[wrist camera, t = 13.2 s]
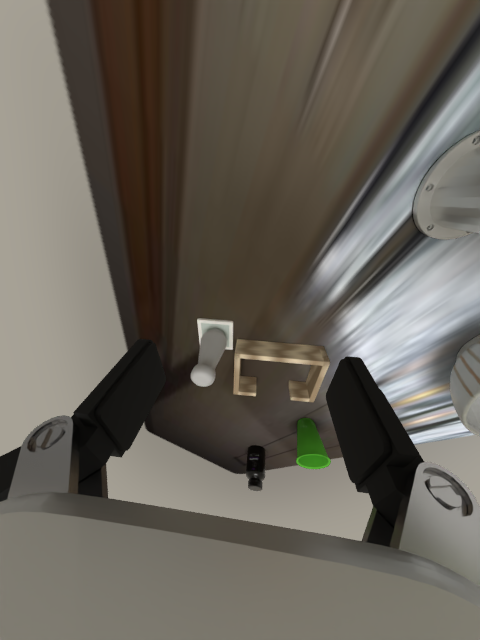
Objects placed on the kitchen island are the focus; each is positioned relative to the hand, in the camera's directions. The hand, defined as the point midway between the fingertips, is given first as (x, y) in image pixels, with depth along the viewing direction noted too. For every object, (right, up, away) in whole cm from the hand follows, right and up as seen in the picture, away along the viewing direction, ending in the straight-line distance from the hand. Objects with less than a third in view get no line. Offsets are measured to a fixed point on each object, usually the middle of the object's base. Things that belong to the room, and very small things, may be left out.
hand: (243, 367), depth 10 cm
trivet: (-6, -1, +34) cm, 35 cm away
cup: (+21, -30, +51) cm, 63 cm away
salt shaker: (-6, -1, +34) cm, 34 cm away
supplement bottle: (+6, -49, +64) cm, 81 cm away
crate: (+9, -9, +38) cm, 40 cm away
